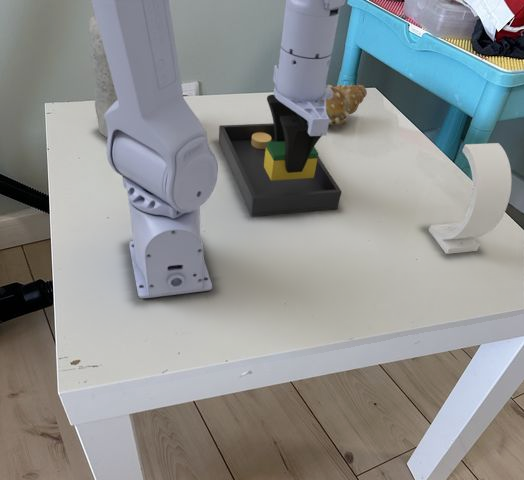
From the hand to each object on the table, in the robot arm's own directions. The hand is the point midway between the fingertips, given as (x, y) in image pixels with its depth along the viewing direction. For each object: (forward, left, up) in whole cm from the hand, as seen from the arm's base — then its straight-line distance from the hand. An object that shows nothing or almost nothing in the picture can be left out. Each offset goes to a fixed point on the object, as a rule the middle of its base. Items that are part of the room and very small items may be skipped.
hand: (289, 162), depth 66 cm
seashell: (+20, -14, -5) cm, 25 cm away
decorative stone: (+20, +18, -5) cm, 27 cm away
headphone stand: (-14, -19, -5) cm, 24 cm away
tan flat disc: (+13, 0, -4) cm, 13 cm away
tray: (+5, 0, -5) cm, 7 cm away
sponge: (0, 0, -1) cm, 1 cm away
